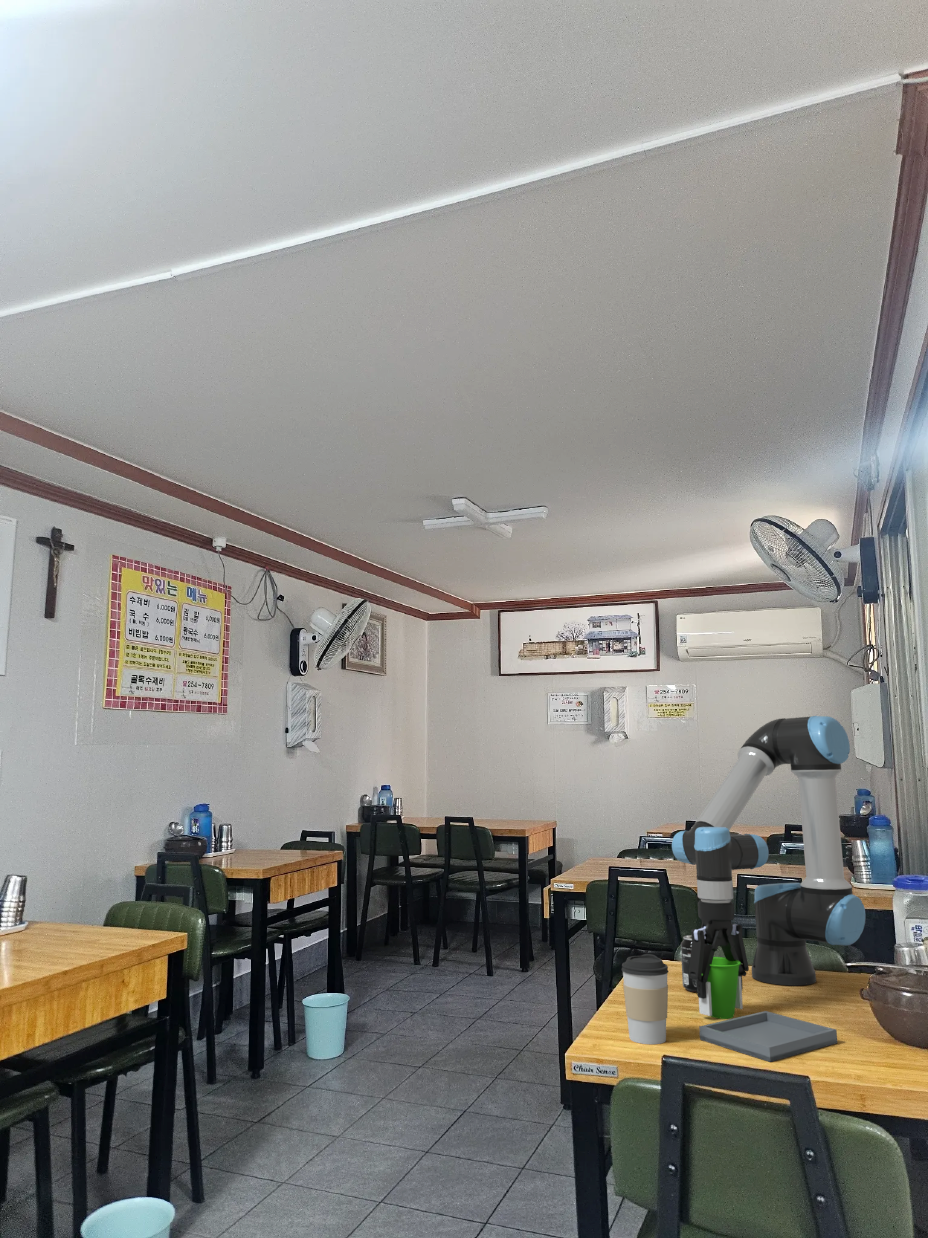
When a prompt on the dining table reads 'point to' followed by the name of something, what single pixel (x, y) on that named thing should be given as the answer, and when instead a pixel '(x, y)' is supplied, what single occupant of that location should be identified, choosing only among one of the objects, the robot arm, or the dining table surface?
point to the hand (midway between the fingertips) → (721, 1011)
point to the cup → (723, 987)
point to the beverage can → (687, 964)
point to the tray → (768, 1035)
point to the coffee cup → (646, 998)
